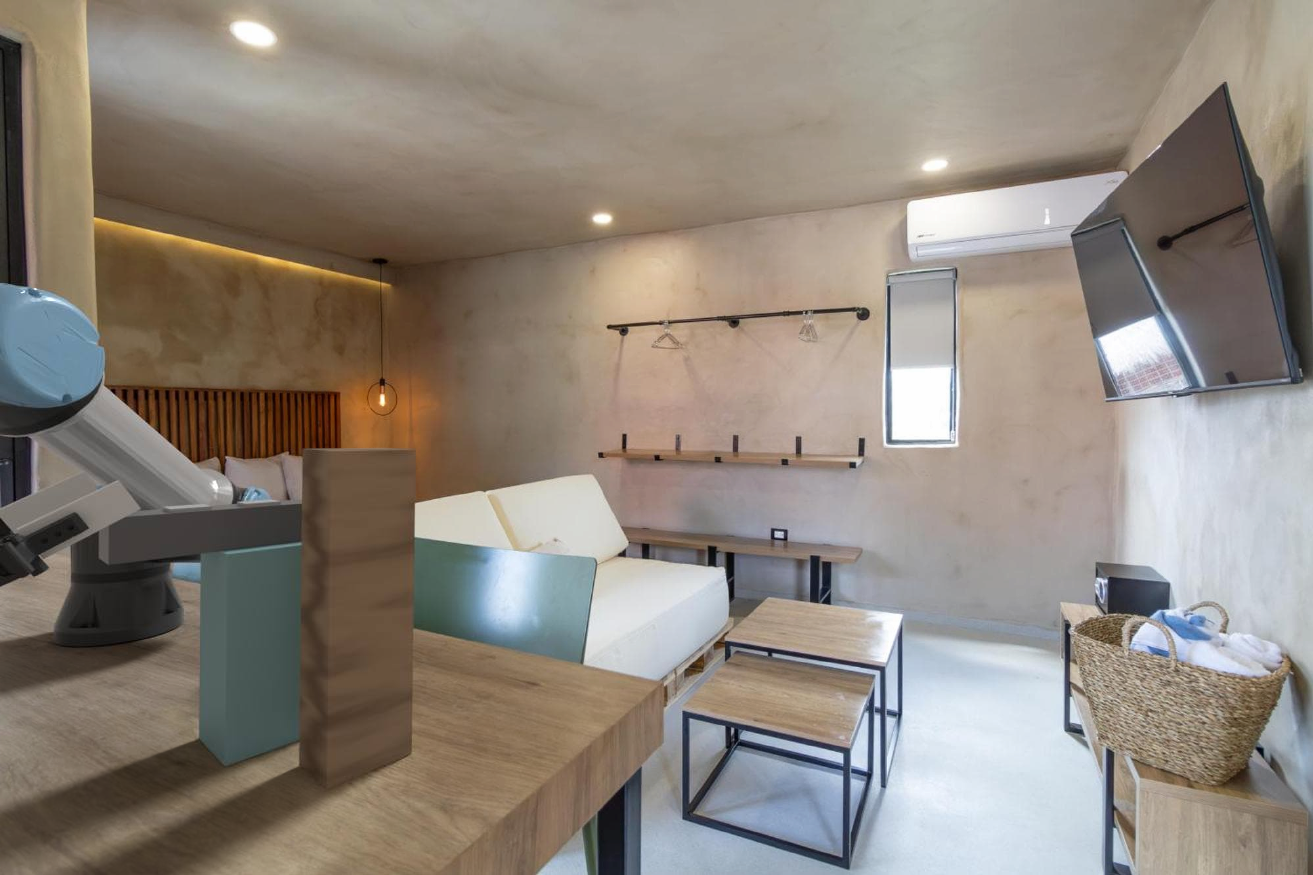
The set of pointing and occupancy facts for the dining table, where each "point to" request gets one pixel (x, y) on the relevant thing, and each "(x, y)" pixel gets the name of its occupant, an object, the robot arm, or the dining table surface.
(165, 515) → the power strip
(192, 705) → the dining table surface
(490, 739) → the dining table surface
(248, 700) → the teal block
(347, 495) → the walnut stand
